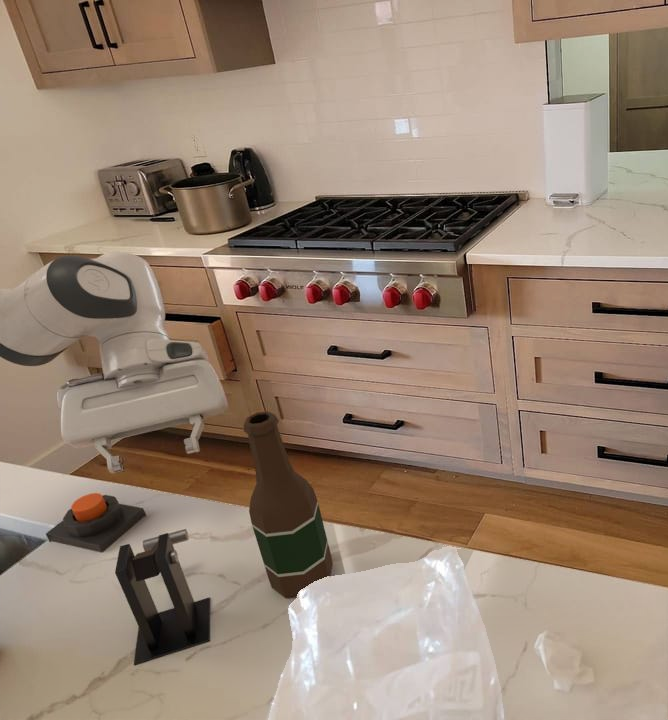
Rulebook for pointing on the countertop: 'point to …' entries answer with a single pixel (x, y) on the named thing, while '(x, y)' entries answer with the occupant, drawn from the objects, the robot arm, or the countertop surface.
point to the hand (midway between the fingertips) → (155, 461)
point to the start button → (89, 507)
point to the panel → (97, 526)
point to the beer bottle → (284, 513)
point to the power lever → (153, 556)
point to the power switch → (170, 626)
